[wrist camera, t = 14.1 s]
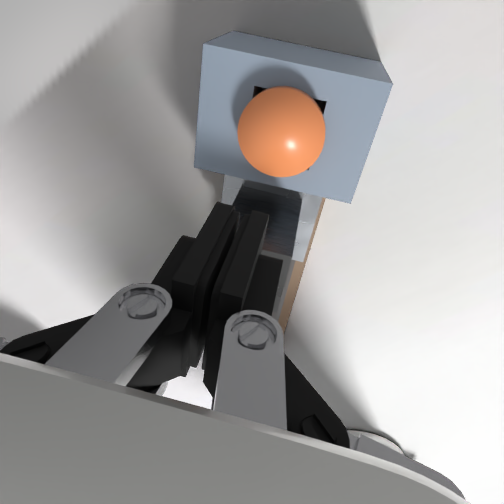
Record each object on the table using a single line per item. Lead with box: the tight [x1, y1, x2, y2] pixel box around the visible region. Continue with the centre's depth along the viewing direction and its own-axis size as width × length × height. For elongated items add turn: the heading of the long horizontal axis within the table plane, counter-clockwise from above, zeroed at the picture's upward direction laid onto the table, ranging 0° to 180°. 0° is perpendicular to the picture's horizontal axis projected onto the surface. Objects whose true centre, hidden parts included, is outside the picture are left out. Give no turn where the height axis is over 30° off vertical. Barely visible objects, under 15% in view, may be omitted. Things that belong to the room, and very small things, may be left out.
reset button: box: [237, 86, 326, 177], centre depth 23 cm, size 5×5×4 cm
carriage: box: [221, 175, 323, 313], centre depth 27 cm, size 7×6×10 cm
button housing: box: [194, 31, 393, 204], centre depth 25 cm, size 10×7×7 cm
